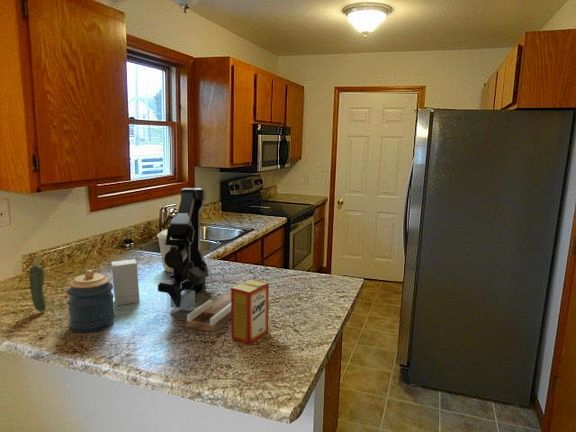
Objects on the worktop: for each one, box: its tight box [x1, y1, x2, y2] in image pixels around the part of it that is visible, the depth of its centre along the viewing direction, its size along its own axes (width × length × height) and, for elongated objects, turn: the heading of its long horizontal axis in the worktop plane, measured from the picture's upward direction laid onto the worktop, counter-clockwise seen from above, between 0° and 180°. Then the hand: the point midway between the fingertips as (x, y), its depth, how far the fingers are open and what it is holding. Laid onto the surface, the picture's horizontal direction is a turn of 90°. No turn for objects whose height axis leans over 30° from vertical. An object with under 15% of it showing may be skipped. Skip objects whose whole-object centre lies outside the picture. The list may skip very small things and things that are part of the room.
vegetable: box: [28, 253, 47, 313], centre depth 137 cm, size 4×4×20 cm
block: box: [170, 289, 196, 310], centre depth 140 cm, size 5×6×5 cm
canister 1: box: [66, 269, 116, 333], centre depth 129 cm, size 13×13×18 cm
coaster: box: [170, 306, 196, 319], centre depth 141 cm, size 8×8×1 cm
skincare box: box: [111, 258, 141, 306], centre depth 148 cm, size 8×6×15 cm
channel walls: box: [186, 298, 231, 326], centre depth 135 cm, size 9×14×2 cm, turn 161°
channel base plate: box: [185, 293, 231, 333], centre depth 140 cm, size 10×25×2 cm, turn 161°
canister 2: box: [156, 228, 179, 274], centre depth 185 cm, size 18×18×21 cm
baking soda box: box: [230, 278, 270, 345], centre depth 124 cm, size 10×6×16 cm
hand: (182, 304), depth 140 cm, fingers closed on block, 5 cm apart
